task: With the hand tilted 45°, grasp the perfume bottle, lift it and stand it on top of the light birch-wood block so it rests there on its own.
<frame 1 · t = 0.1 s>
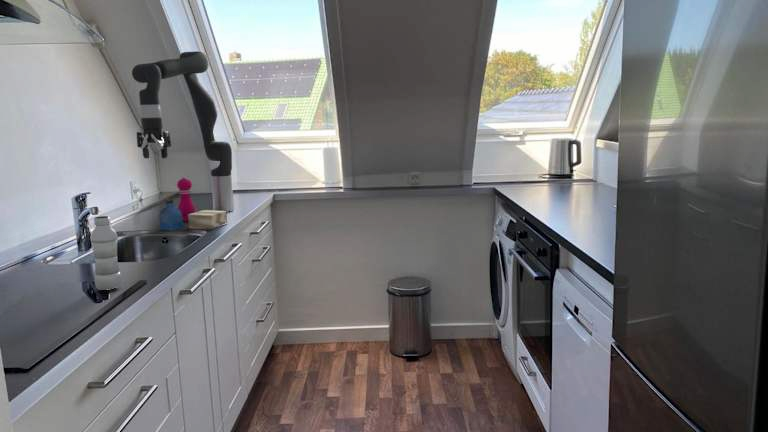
hand: (155, 158, 221), 29 cm above the counter, tool pointing down, fingers open, 8 cm apart
birch block: (208, 226, 234), on the counter
plastic bottle: (109, 290, 151), on the counter
perfume bottle: (171, 229, 230), on the counter
pepper mill: (187, 220, 247), on the counter
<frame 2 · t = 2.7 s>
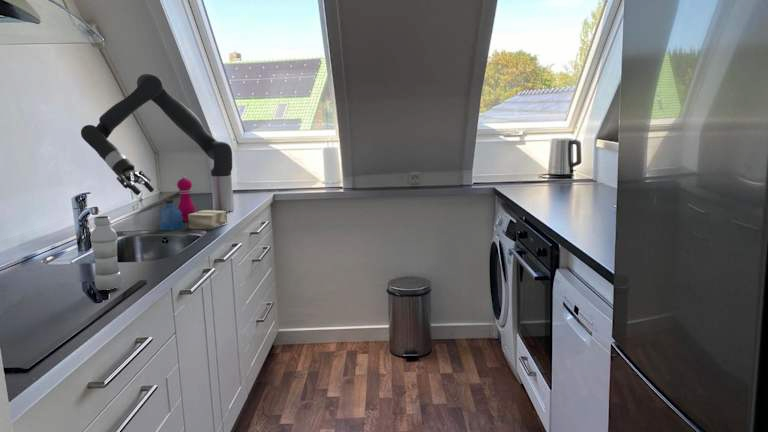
hand: (146, 192, 230), 15 cm above the counter, tool tilted 45°, fingers open, 8 cm apart
nothing on the counter moved.
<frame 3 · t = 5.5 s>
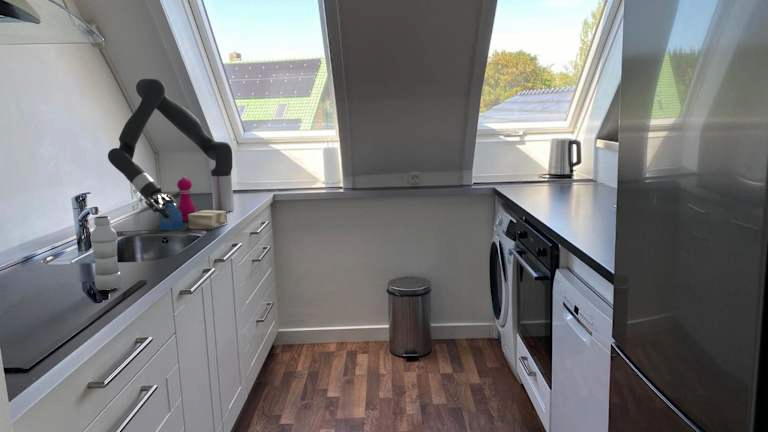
hand: (173, 215, 229), 5 cm above the counter, tool tilted 45°, fingers closed on perfume bottle, 7 cm apart
perfume bottle: (171, 229, 230), on the counter, touching gripper
everything else where it was.
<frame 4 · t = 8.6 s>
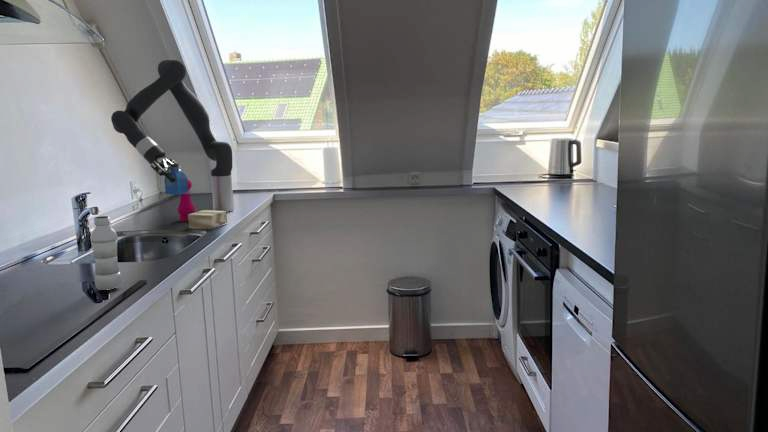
hand: (179, 179, 227), 20 cm above the counter, tool tilted 45°, fingers closed on perfume bottle, 7 cm apart
perfume bottle: (177, 193, 228), point 14 cm above the counter, touching gripper
everything else where it was.
when the fingers open (13 cm above the counter, at t = 11.6 s): perfume bottle drops 2 cm, resting on birch block.
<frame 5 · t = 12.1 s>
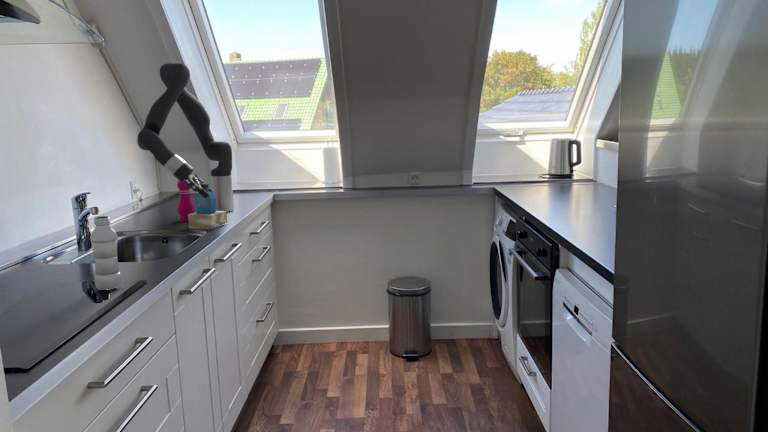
hand: (209, 195, 232), 13 cm above the counter, tool tilted 45°, fingers open, 8 cm apart
birch block: (208, 226, 234), on the counter, touching perfume bottle
perfume bottle: (206, 213, 233), point 5 cm above the counter, touching birch block
everything else where it was.
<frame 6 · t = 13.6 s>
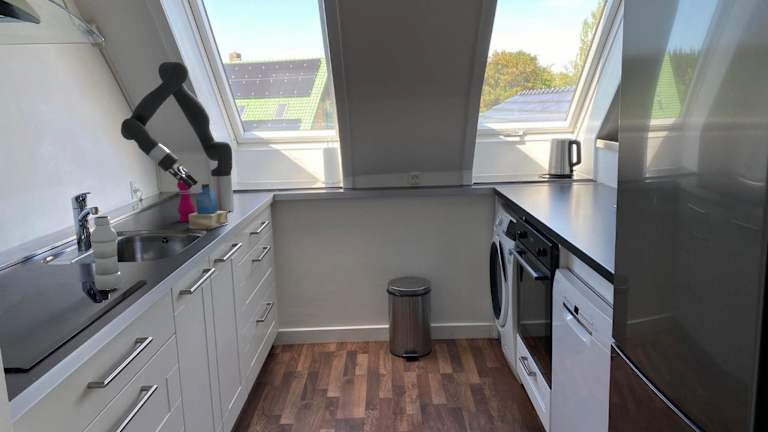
hand: (194, 185, 230), 17 cm above the counter, tool tilted 45°, fingers open, 8 cm apart
birch block: (209, 226, 234), on the counter
perfume bottle: (207, 213, 233), point 5 cm above the counter
everything else where it was.
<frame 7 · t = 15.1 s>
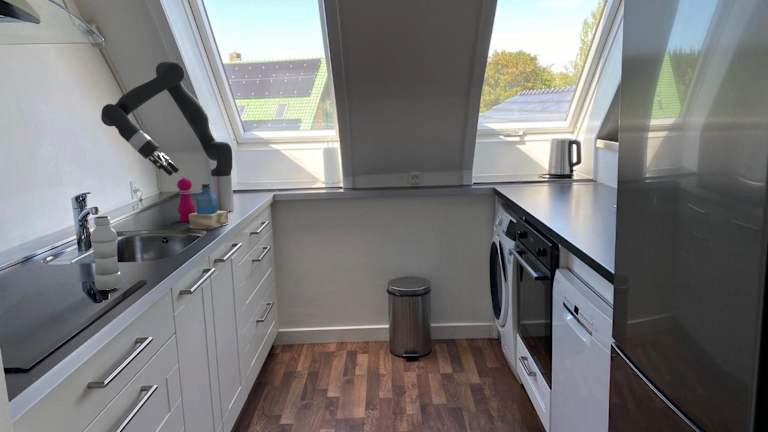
hand: (174, 172, 229), 23 cm above the counter, tool tilted 45°, fingers open, 8 cm apart
birch block: (209, 226, 234), on the counter, touching perfume bottle
perfume bottle: (207, 213, 233), point 5 cm above the counter, touching birch block
everything else where it was.
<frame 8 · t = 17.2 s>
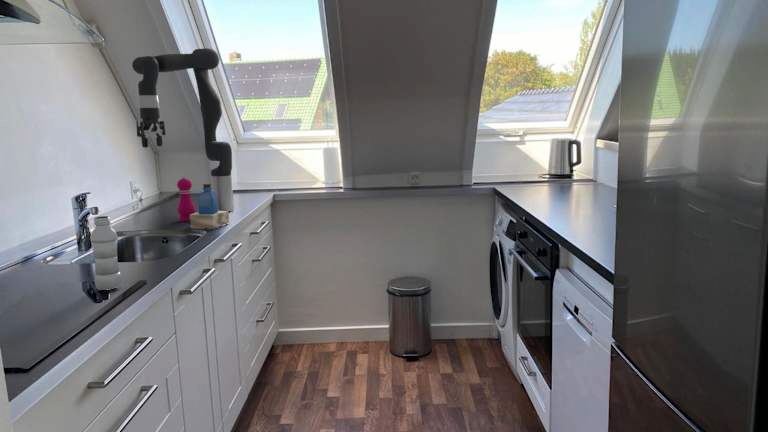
hand: (152, 146, 231), 33 cm above the counter, tool pointing down, fingers open, 8 cm apart
nothing on the counter moved.
at the end: perfume bottle inside the target area on the birch block (0.2 cm from its centre), point 5.8 cm above the birch block's base; perfume bottle tilted 0°; the gripper is holding nothing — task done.
